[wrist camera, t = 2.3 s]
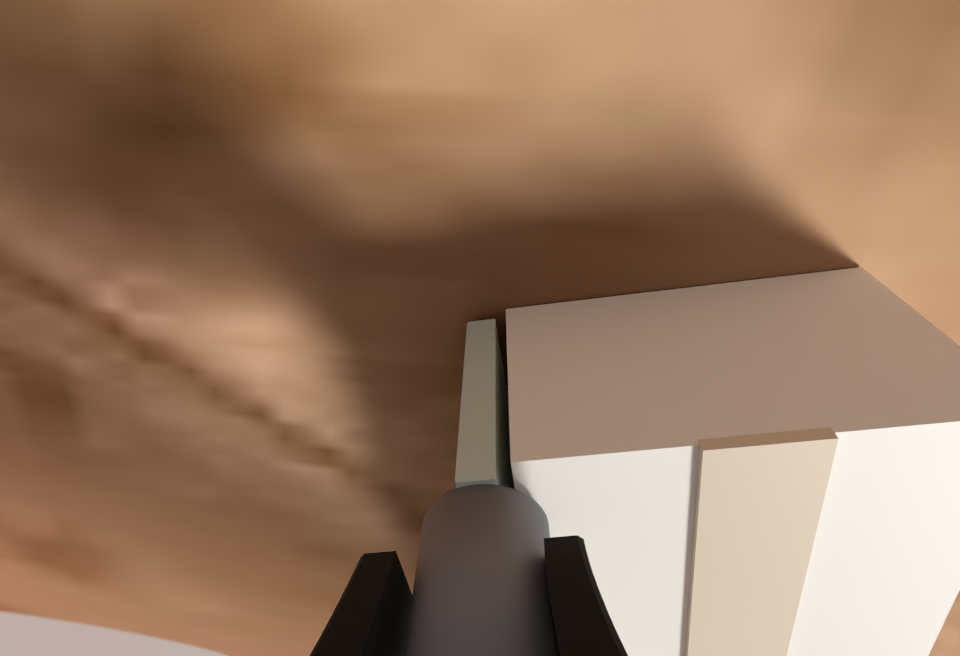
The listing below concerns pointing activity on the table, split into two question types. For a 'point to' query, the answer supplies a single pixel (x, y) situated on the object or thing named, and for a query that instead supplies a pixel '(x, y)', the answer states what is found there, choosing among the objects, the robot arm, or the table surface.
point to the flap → (482, 535)
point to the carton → (748, 462)
